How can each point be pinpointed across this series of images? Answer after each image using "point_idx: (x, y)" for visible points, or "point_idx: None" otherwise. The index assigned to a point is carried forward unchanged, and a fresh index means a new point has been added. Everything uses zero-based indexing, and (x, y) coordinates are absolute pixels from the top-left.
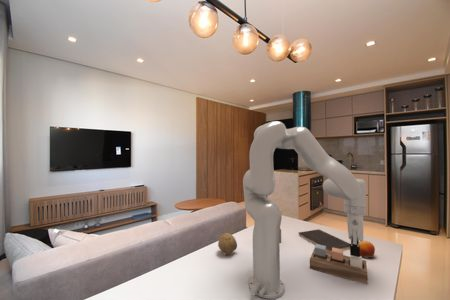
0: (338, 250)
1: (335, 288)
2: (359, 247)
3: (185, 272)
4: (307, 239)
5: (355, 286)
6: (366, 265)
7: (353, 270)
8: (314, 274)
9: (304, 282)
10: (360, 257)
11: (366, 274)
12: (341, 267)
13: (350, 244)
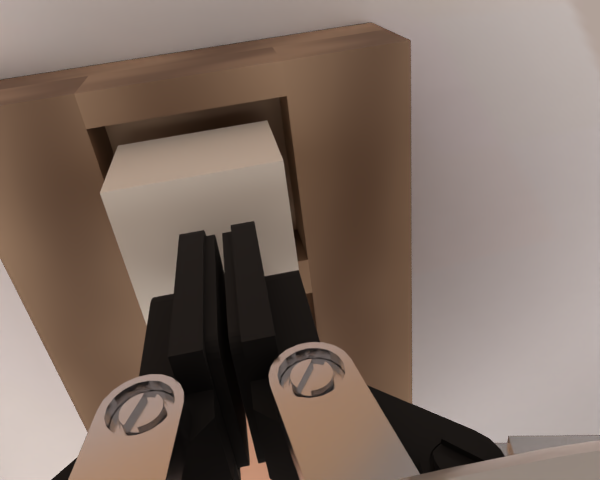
0: (251, 458)
1: (573, 235)
2: (272, 330)
3: None
4: None
5: (471, 120)
6: (128, 86)
7: (392, 195)
8: (454, 385)
9: (583, 386)
10: (161, 202)
11: (407, 54)
12: (395, 297)
13: (240, 474)
